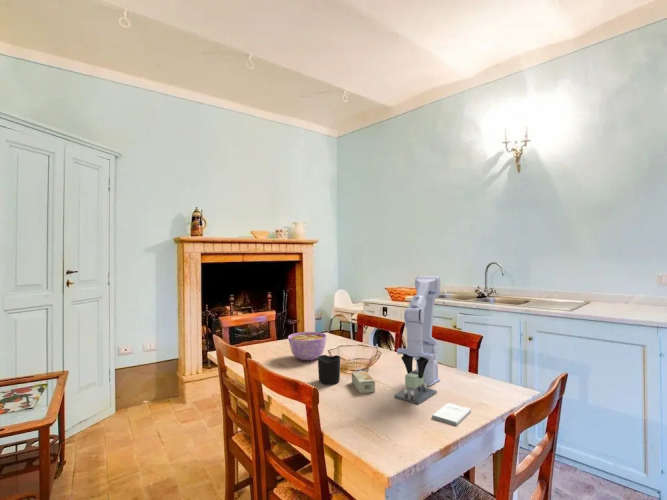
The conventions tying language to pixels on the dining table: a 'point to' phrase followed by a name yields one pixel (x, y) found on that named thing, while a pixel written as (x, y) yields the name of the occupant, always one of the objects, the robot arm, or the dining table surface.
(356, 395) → the dining table surface
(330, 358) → the pen holder
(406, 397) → the plate
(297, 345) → the bowl of food
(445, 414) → the external hard drive
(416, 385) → the green block
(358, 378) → the skincare box
